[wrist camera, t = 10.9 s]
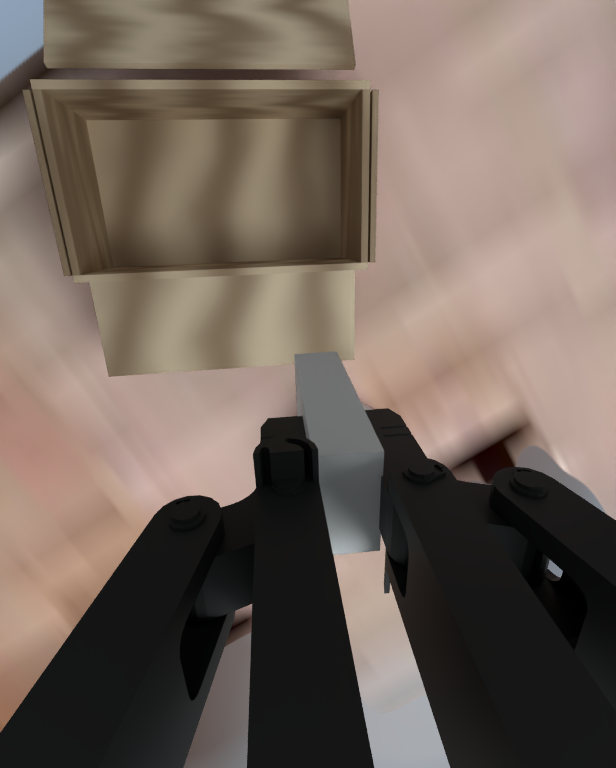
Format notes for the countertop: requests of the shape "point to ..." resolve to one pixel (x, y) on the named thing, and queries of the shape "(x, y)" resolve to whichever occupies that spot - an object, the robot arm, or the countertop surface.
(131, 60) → the flap
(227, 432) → the countertop surface
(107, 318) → the carton
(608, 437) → the countertop surface
